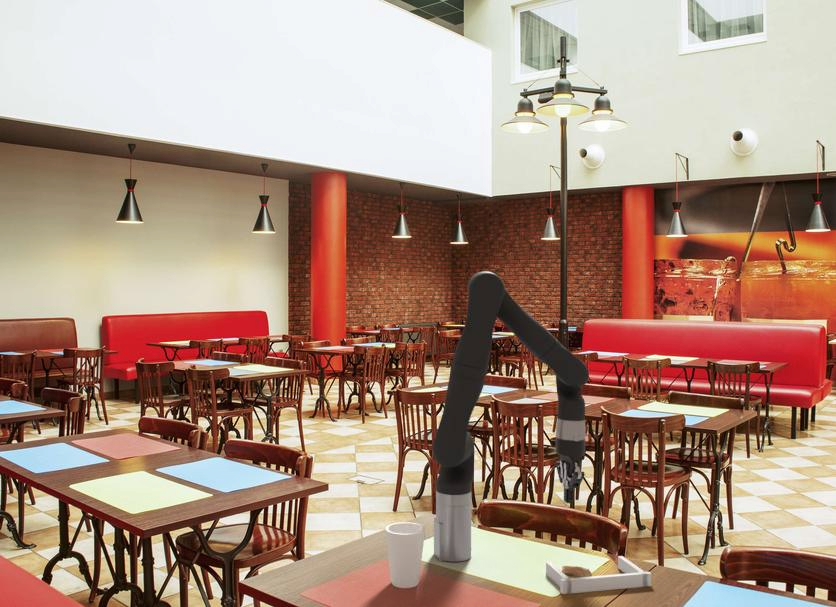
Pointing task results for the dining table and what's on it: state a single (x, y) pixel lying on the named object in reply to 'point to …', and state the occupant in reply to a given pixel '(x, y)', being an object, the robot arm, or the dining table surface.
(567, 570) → the sandwich
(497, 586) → the dining table surface
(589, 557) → the dining table surface
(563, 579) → the box
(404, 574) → the foam cup
